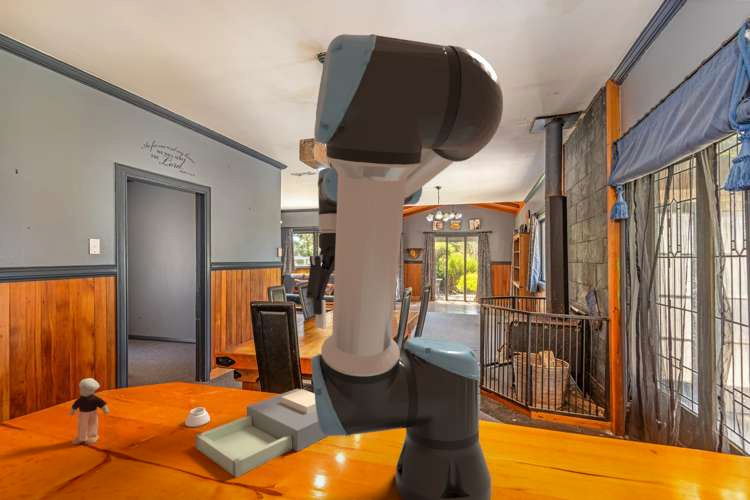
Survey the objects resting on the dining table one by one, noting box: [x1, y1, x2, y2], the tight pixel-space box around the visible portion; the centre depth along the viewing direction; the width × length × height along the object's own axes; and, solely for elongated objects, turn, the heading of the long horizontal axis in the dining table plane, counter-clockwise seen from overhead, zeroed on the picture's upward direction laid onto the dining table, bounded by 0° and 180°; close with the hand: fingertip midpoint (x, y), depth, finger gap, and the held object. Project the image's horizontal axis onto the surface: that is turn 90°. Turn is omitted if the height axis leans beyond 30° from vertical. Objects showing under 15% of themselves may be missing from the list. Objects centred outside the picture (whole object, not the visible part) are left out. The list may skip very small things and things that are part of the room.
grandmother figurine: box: [69, 377, 110, 445], centre depth 76 cm, size 8×4×13 cm, turn 102°
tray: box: [195, 415, 293, 478], centre depth 72 cm, size 15×12×2 cm
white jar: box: [184, 406, 211, 428], centre depth 83 cm, size 5×3×5 cm
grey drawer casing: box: [246, 388, 329, 452], centre depth 82 cm, size 18×14×4 cm
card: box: [281, 388, 316, 414], centre depth 83 cm, size 9×6×1 cm, turn 50°
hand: (334, 325), depth 91 cm, fingers open, 8 cm apart
